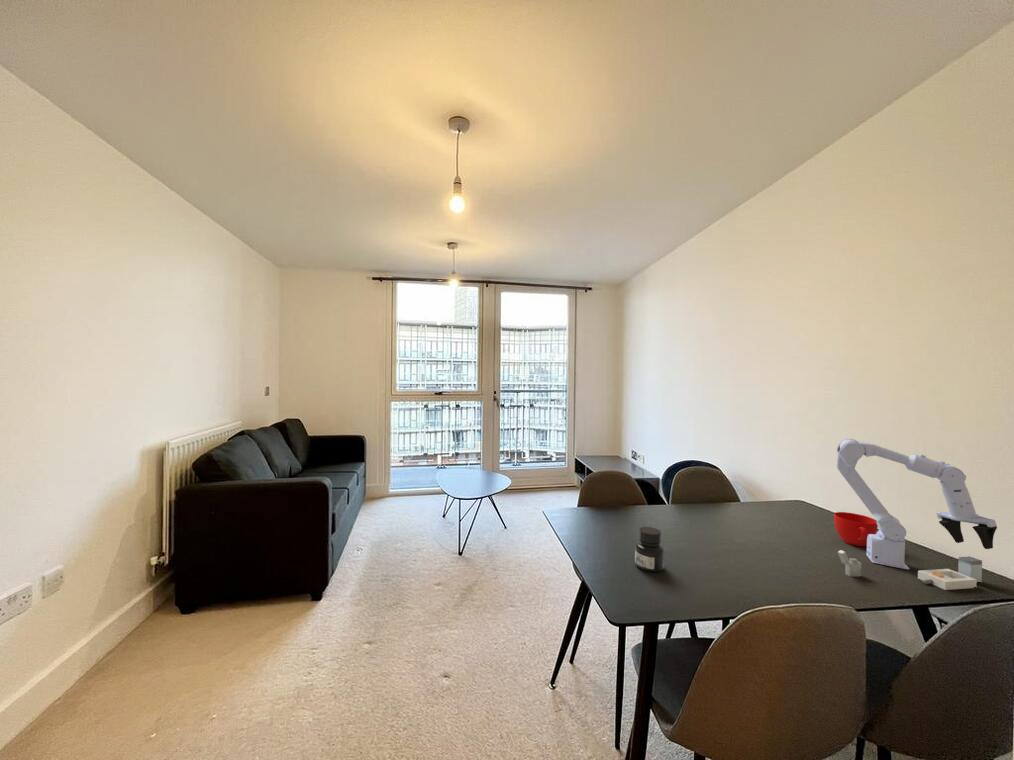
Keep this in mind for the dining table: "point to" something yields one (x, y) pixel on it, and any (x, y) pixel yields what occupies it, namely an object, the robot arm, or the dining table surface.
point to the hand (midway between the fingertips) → (974, 545)
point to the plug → (970, 567)
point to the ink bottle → (649, 550)
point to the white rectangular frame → (946, 579)
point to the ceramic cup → (854, 527)
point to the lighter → (850, 564)
